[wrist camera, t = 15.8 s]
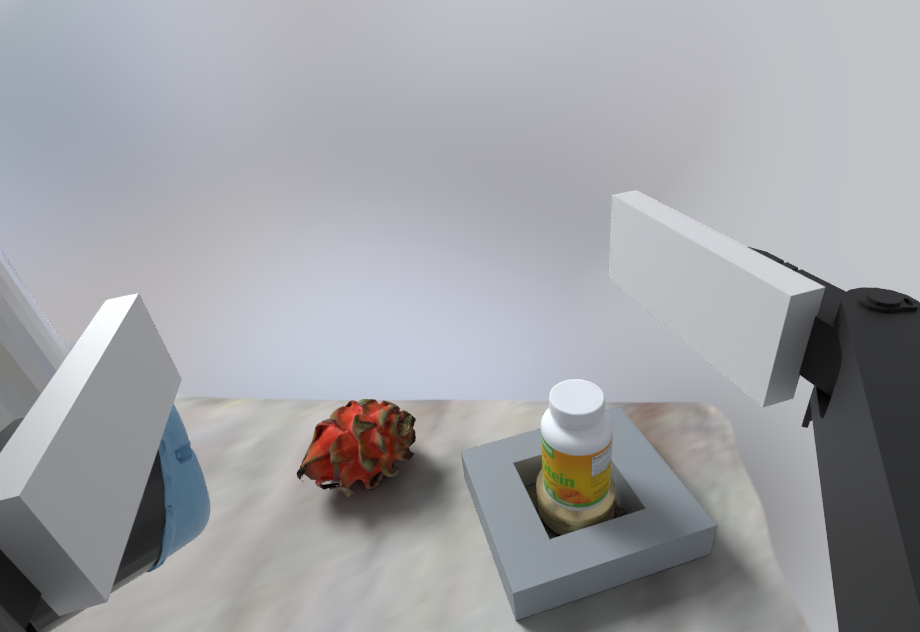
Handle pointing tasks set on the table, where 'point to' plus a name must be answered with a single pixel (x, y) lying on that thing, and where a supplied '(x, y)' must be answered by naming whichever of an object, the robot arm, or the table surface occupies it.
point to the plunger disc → (572, 511)
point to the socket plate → (590, 549)
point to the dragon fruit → (359, 445)
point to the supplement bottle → (576, 445)
